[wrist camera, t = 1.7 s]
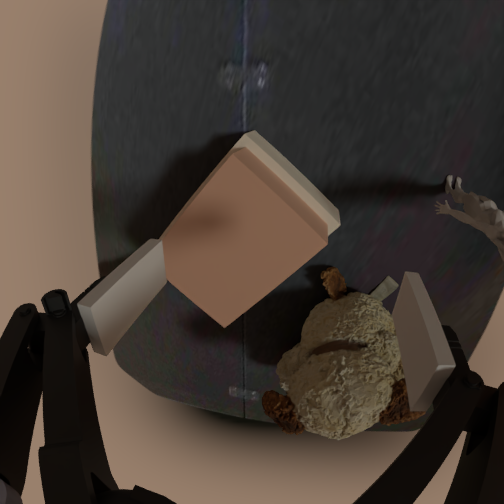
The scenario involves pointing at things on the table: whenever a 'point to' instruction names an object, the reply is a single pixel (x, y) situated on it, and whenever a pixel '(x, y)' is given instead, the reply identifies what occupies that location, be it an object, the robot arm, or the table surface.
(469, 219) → the human figurine
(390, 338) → the dog
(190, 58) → the table surface
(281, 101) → the table surface
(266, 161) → the stacked block pedestal
